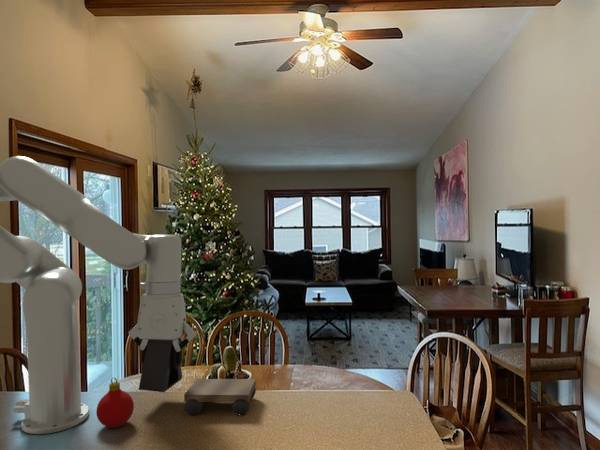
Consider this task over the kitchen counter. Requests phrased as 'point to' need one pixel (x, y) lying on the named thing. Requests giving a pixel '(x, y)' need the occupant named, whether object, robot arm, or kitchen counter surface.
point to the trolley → (220, 394)
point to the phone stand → (159, 367)
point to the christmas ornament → (115, 406)
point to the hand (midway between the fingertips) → (161, 365)
